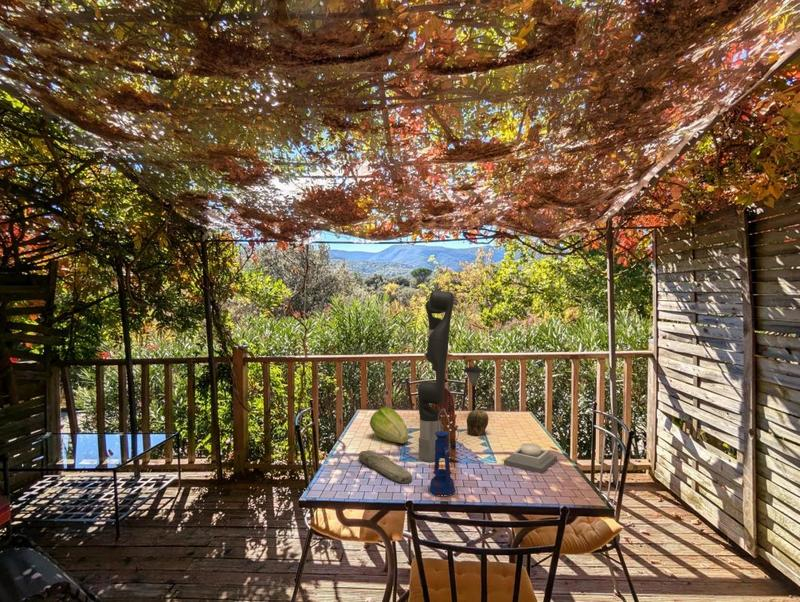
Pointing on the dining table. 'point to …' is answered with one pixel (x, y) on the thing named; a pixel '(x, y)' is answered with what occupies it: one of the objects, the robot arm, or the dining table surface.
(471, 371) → the solar garden light
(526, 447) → the button
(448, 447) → the lantern
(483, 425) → the brown rounded block
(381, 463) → the long grey stone
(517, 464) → the button plate
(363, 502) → the dining table surface
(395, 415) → the lettuce
